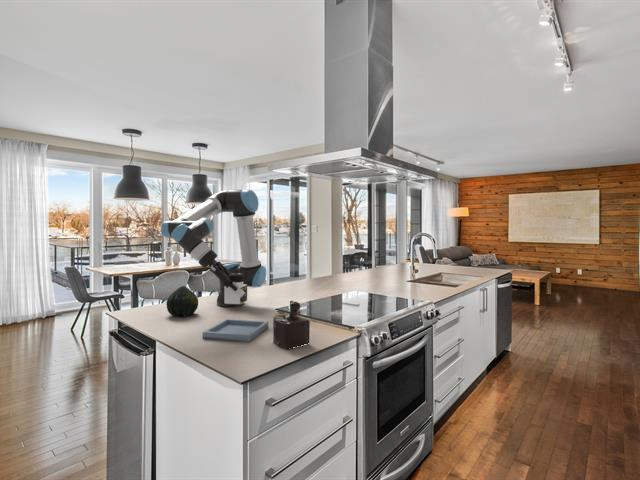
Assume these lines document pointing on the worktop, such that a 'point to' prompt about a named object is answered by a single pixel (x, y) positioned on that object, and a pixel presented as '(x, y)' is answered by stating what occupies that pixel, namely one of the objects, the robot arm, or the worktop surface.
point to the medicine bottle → (230, 295)
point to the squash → (182, 302)
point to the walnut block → (278, 316)
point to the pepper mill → (291, 328)
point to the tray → (235, 330)
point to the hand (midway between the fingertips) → (244, 293)
